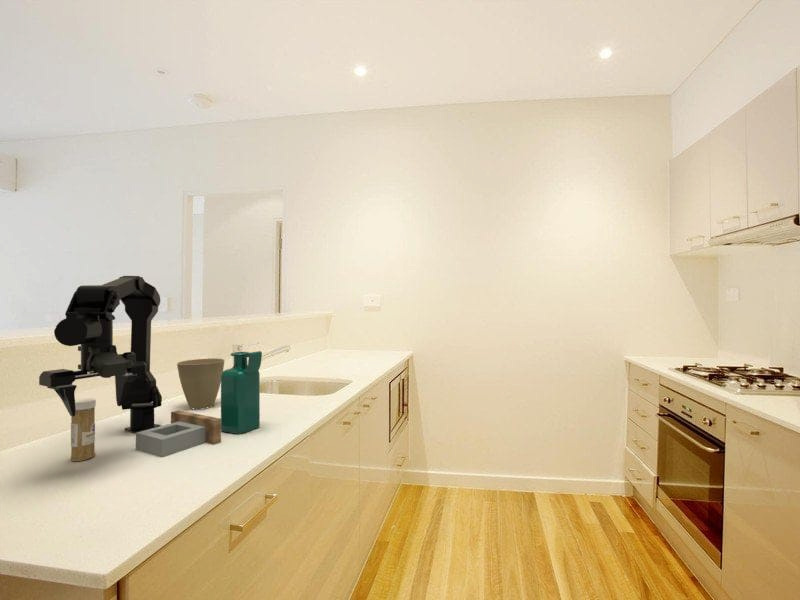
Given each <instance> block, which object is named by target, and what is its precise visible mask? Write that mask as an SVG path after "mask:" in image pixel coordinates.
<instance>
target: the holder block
mask: <svg viewBox="0 0 800 600" xmlns="http://www.w3.org/2000/svg"><path fill="white" fill-rule="evenodd" d="M205 443H206V427H204V426H199V425H194V424H190V423H185V422H180V421H178V422H175V423H171V422H170V423H168V424H165V425H160V426H159V427H156V428H152V429H148V430H144V431H141V432H137V433H135V450H136V451H141V452H143V453H148V454H150V455H154V456H158V457H162V458H163V457H166V456H167V457H168V456H170V455H172V454H176V453H179V452H182V451H184V450H188V449H190V448H193V447H197V446H200V445H203V444H205Z"/></svg>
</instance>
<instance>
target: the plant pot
mask: <svg viewBox="0 0 800 600" xmlns="http://www.w3.org/2000/svg"><path fill="white" fill-rule="evenodd" d="M224 366H225V359H224V358H217V357H216V358H215V357H214V358H212V357H209V358H198V359H188V360H182V361H179V362H177V363H176V367H177V371H178V378H179V381H180V385H181V389H182V392H183V395H184V397H185V400H186V402H187V404H188V406H189V408H190V409H191V408H194V409H193V410H202V409H201V408H205V409H208V408H207V407H209V408H211V406H212V407H213V406H214V405H215V402H216V400H217V397H218V394H219V392H220V391H219V390H220V388H221V374H222V372H223V371H224Z"/></svg>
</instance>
